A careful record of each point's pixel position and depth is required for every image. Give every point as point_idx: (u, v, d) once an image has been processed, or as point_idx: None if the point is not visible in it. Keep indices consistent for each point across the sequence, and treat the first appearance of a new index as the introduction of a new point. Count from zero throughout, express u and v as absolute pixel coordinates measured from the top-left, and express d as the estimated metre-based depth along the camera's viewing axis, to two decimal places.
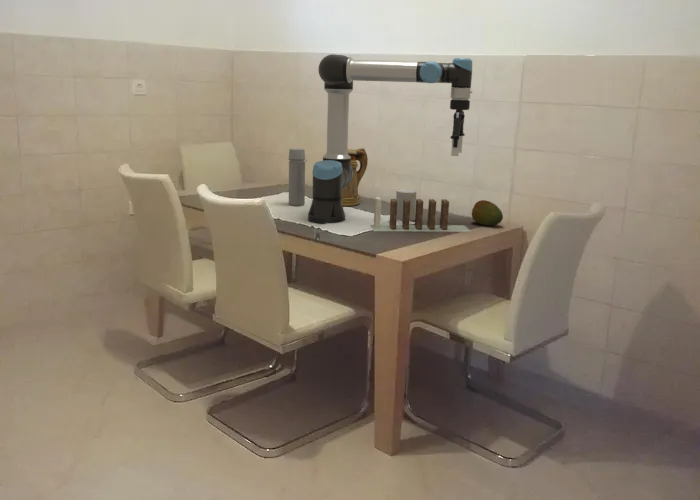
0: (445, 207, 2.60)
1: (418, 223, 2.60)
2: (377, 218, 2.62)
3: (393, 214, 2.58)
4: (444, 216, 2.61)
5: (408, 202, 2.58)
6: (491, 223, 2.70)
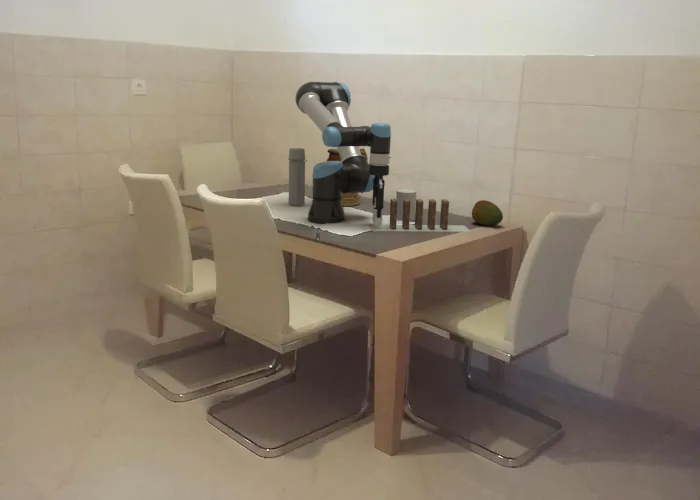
0: (445, 207, 2.60)
1: (418, 223, 2.60)
2: None
3: (393, 214, 2.58)
4: (444, 216, 2.61)
5: (408, 202, 2.58)
6: (491, 223, 2.70)
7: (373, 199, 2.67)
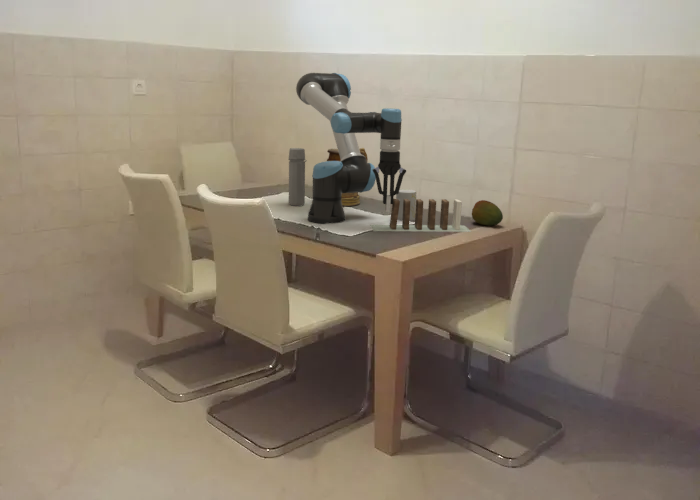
0: (445, 207, 2.60)
1: (418, 223, 2.60)
2: (457, 220, 2.62)
3: (394, 214, 2.58)
4: (444, 216, 2.61)
5: (408, 202, 2.58)
6: (491, 223, 2.70)
7: (395, 188, 2.59)
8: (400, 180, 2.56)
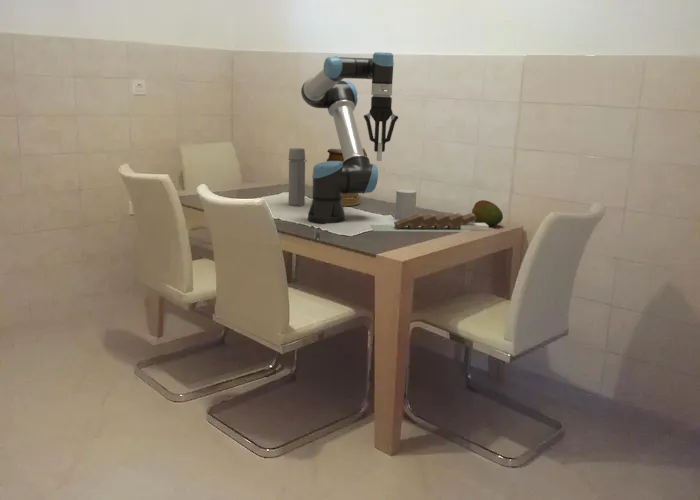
0: (470, 218, 2.62)
1: (428, 224, 2.61)
2: (469, 227, 2.63)
3: (410, 221, 2.60)
4: (461, 221, 2.62)
5: (435, 218, 2.61)
6: (491, 223, 2.70)
7: None
8: (392, 127, 2.51)
